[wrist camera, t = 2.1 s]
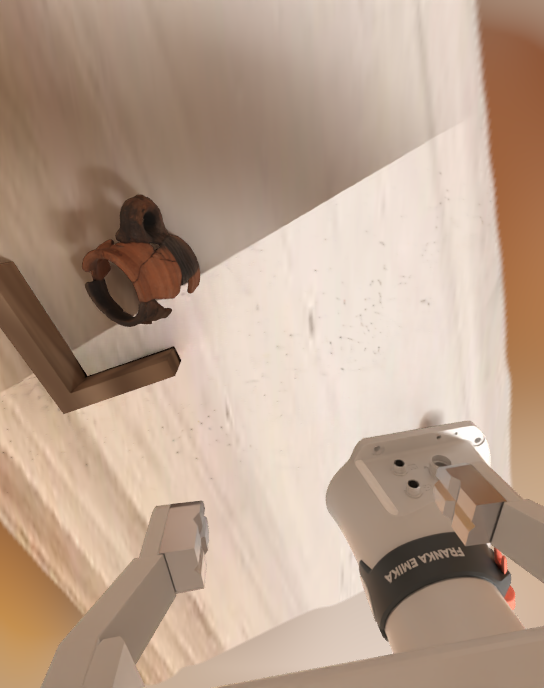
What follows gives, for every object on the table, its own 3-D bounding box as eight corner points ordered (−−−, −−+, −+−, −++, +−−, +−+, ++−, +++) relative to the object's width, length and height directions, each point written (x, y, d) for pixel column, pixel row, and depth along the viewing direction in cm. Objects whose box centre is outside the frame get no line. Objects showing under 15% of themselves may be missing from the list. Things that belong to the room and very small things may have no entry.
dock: (114, 225, 30) (97, 225, 27) (181, 360, 36) (175, 375, 33) (-6, 268, 31) (-39, 274, 27) (81, 394, 37) (63, 413, 33)
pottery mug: (208, 310, 35) (160, 346, 28) (142, 292, 37) (84, 320, 31) (203, 196, 28) (140, 207, 21) (123, 183, 30) (45, 190, 24)
